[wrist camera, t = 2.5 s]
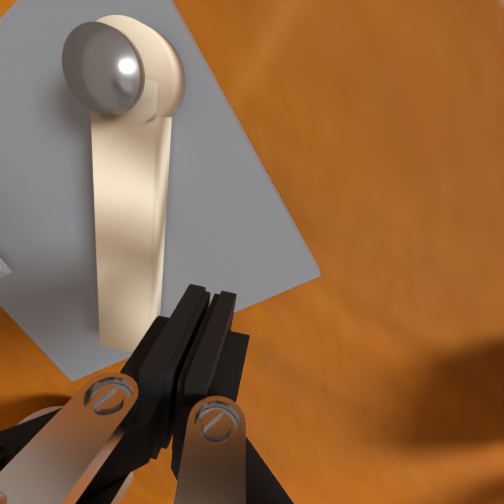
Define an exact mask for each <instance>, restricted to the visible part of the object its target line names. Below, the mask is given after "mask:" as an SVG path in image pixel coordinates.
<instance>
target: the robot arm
mask: <svg viewBox="0 0 504 504" xmlns="http://www.w3.org/2000/svg"><path fill="white" fill-rule="evenodd" d="M210 295H211V293H210V292H207V291H206V287H203V286H199V285H194V284H189V286H188V288H187V289H186V291H185V293H184V294H183V296H182V298H181V299H180V301H179V303H178V305H177V306H176V308H175V310H174V311H173V313H172V315H171V316H170V318H169V317H164V316H160V315H159V316H157V317H156V318H155V320H154V321H153V323H152V324H151V326H150V327H149V329H148V330H147V332H146V333H145V335H144V337H143V338H142V340H141V341H140V343H139V344H138V346H137V347H136V349H135V350H134V352H133V353H132V355H131V356H130V358H129V360H128V361H127V363H126V364H125V366H124V367H123V369H122V370H121V372H120V373H107V374H103V375H99V376H97V377H95V378H93V379H91V380H90V381H89V382H88V383H86V384H85V385H84V386H83V387H82V388H81V389H80V390H79V391H78V392H77V393H76V394H75V395H74V396H73V397H72V398H71V399H70V400H69V401H68V402H67V404H66V405H65V406H64V407H62V408H59V409H57V410H54V411H52V412H49V413H47V414H44V415H42V416H39V417H37V418H34V419H31V420H29V421H26V422H24V423H21V424H19V425H16V426H14V427H11V428H9V429H6V430H3V431H1V432H0V504H119V502H120V501H121V499H122V497H123V496H124V494H125V492H126V490H127V489H128V487H129V485H130V484H131V482H132V480H133V479H134V476H135V474H136V472H137V469H138V468H140V467H141V466H143V465H145V464H147V463H148V462H149V460H150V458H153V459H157V457H158V454H159V452H160V449H161V448H165V449H167V448H168V446H169V443H170V441H171V438H172V435H173V443H172V450H173V451H172V463H171V469H172V471H173V473H174V475H175V477H176V479H177V486H176V491H175V497H174V503H173V504H294V503H293V502H292V501H291V499H290V498H289V496H288V495H287V494H286V492H285V491H284V489H283V488H282V486H281V485H280V484H279V482H278V481H277V479H276V478H275V477H274V475H273V474H272V472H271V471H270V470H269V468H268V467H267V465H266V464H265V462H264V461H263V460H262V458H261V457H260V455H259V454H258V453H257V451H256V450H255V448H254V447H253V446H252V444H251V443H250V441H249V440H248V439H247V437H246V421H245V415H244V413H243V411H242V409H241V408H240V406H239V405H238V404H237V403H236V399H237V394H238V390H239V385H240V380H241V375H242V370H243V365H244V361H245V356H246V351H247V346H248V341H249V336H250V335H246V334H241V333H237V332H232V331H231V326H232V320H233V314H234V308H235V303H236V297H237V294H236V293H231V292H227V291H221V293H220V294H216V293H215V294H214V296H213V298H212V301H211V303H210ZM209 303H210V305H209Z"/></svg>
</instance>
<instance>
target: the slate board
mask: <svg viewBox="0 0 504 504" xmlns="http://www.w3.org/2000/svg"><path fill="white" fill-rule="evenodd" d="M109 15H123V16H127V17H130V18H133V19H135V20H137V21H139V22H141V23H143V24H144V25H146V26H148V27H150V28H152V29H154V30H155V31H157V32H159V33H160V34H162V35H163V36H164V37H166V38H167V39H168V40H169V41H170V42H171V44H172V45H173V46H174V48H175V49H176V51H177V52H178V54H179V56H180V58H181V61H182V64H183V67H184V72H185V79H186V86H185V94H184V98H183V101H182V103H181V105H180V107H179V109H178V111H177V112H176V113H175V114H174V115H173V116H172V124H171V141H170V158H169V175H168V192H167V209H166V226H165V243H164V260H163V277H162V294H161V311H160V316H164V317H169V318H170V316H171V315H172V313H173V311H174V310H175V308H176V306H177V305H178V303H179V301H180V299H181V298H182V296H183V294H184V293H185V291H186V289H187V288H188V286H189V284H194V285H199V286H203V287H206V291H207V292H210V293H211V295H210V303H211V301H212V298H213V296H214V294H215V293H216V294H220V293H221V291H227V292H231V293H236V294H237V297H236V303H235V308H234V313H235V312H237V311H240V310H242V309H244V308H247V307H249V306H251V305H254V304H256V303H258V302H261V301H263V300H266V299H268V298H270V297H273V296H275V295H277V294H280V293H282V292H284V291H287V290H289V289H291V288H294V287H296V286H299V285H301V284H303V283H306V282H308V281H310V280H313V279H315V278H317V277H320V276H321V275H320V268H319V266H318V265H317V263H316V261H315V259H314V257H313V256H312V254H311V252H310V250H309V248H308V246H307V245H306V243H305V241H304V239H303V237H302V235H301V234H300V232H299V230H298V228H297V226H296V224H295V223H294V221H293V219H292V217H291V215H290V213H289V212H288V210H287V208H286V206H285V204H284V203H283V201H282V199H281V197H280V195H279V193H278V192H277V190H276V188H275V186H274V184H273V182H272V181H271V179H270V177H269V175H268V173H267V171H266V170H265V168H264V166H263V164H262V162H261V161H260V159H259V157H258V155H257V153H256V151H255V150H254V148H253V146H252V144H251V142H250V140H249V139H248V137H247V135H246V133H245V131H244V129H243V128H242V126H241V124H240V122H239V120H238V119H237V117H236V115H235V113H234V111H233V109H232V108H231V106H230V104H229V102H228V100H227V98H226V97H225V95H224V93H223V91H222V89H221V87H220V86H219V84H218V82H217V80H216V78H215V77H214V75H213V73H212V71H211V69H210V67H209V66H208V64H207V62H206V60H205V58H204V56H203V55H202V53H201V51H200V49H199V47H198V45H197V44H196V42H195V40H194V38H193V36H192V34H191V33H190V31H189V29H188V27H187V25H186V24H185V22H184V20H183V18H182V16H181V14H180V13H179V11H178V9H177V7H176V5H175V3H174V2H173V0H17V2H16V3H15V4H14V5H13V6H12V7H11V8H10V9H9V10H8V11H7V12H6V13H5V14H4V15H3V16H2V17H1V18H0V258H1V260H2V261H3V262H4V263H5V264H6V265H7V266H8V267H9V268H10V270H11V271H12V272H11V273H9V274H8V275H6V276H4V277H3V278H1V279H0V307H1V308H2V309H3V310H4V311H5V312H6V313H7V314H8V315H9V316H10V317H11V318H12V319H13V320H14V321H15V322H16V324H17V325H18V326H19V327H20V328H21V329H22V330H23V331H24V332H25V333H26V334H27V335H28V336H29V337H30V338H31V339H32V340H33V342H34V343H35V344H36V345H37V346H38V347H39V348H40V349H41V350H42V351H43V352H44V353H45V354H46V355H47V356H48V357H49V358H50V360H51V361H52V362H53V363H54V364H55V365H56V366H57V367H58V368H59V369H60V370H61V371H62V372H63V373H64V374H65V375H66V376H67V378H68V379H69V380H70V381H71V382H72V381H75V380H77V379H79V378H82V377H84V376H86V375H89V374H91V373H94V372H96V371H98V370H101V369H103V368H105V367H108V366H110V365H112V364H115V363H117V362H119V361H122V360H124V359H127V358H129V357H130V356H131V355H132V353H133V352H128V351H124V350H120V349H116V348H111V347H107V346H103V345H100V332H99V307H98V283H97V258H96V233H95V208H94V183H93V158H92V133H91V110H90V109H88V108H86V107H85V106H84V105H82V104H81V103H80V102H79V101H78V100H77V99H76V97H75V96H74V95H73V93H72V92H71V90H70V88H69V87H68V84H67V82H66V80H65V77H64V73H63V68H62V51H63V46H64V43H65V41H66V39H67V37H68V35H69V34H70V33H71V31H72V30H73V29H74V28H76V27H77V26H79V25H80V24H83V23H86V22H93V21H94V22H95V21H97V20H98V19H100V18H102V17H105V16H109ZM210 303H209V305H210Z"/></svg>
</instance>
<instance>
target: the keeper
mask: <svg viewBox="0 0 504 504" xmlns="http://www.w3.org/2000/svg"><path fill="white" fill-rule="evenodd" d="M11 272H12V271H11V270H10V268H9V267H8V266H7V265H6V264H5V263H4V262H3V261H2V260H1V258H0V279H1V278H3V277H4V276H6V275H8V274H9V273H11Z"/></svg>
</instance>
